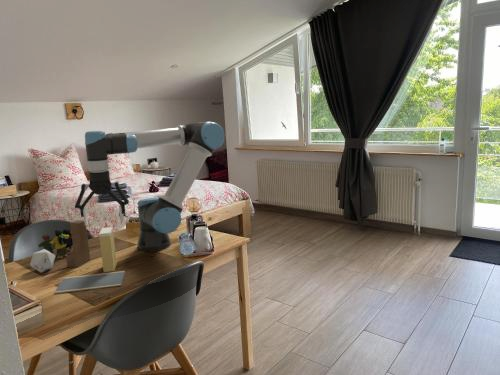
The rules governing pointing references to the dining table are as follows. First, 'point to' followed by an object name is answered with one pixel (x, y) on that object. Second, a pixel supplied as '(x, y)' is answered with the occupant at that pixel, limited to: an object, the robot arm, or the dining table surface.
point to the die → (42, 260)
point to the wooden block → (78, 244)
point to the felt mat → (90, 282)
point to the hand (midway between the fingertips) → (104, 223)
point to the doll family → (59, 242)
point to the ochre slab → (108, 249)
